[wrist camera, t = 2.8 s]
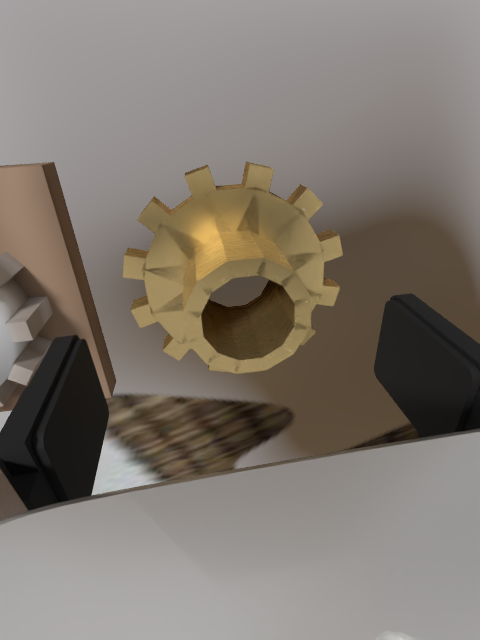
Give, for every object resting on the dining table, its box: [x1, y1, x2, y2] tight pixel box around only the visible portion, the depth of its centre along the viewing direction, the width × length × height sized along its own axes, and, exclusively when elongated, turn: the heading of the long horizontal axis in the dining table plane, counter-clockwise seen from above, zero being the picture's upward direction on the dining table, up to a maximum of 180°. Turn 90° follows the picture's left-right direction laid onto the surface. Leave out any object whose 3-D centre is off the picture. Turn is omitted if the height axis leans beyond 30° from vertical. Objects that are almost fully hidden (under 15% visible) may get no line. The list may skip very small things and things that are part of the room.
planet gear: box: [123, 162, 343, 374], centre depth 17 cm, size 11×11×5 cm
